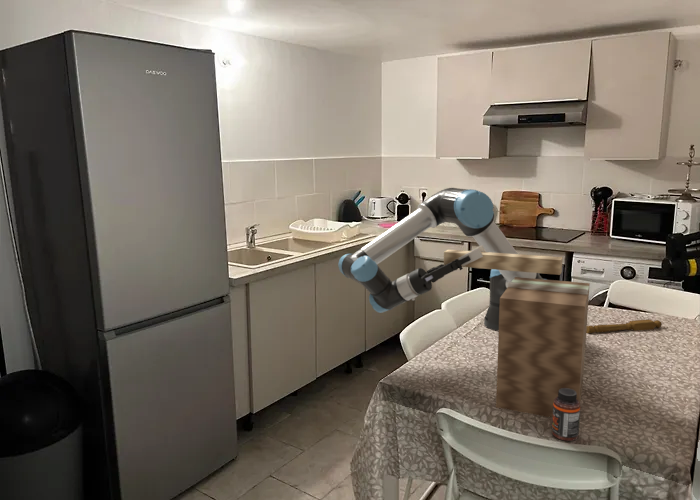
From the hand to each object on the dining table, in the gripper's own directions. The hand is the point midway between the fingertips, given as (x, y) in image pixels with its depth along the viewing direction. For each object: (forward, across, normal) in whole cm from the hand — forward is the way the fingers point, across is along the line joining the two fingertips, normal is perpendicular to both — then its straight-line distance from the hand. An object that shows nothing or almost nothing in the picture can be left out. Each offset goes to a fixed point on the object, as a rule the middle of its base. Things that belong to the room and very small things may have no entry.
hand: (482, 250), depth 157 cm
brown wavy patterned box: (-3, +5, -43) cm, 43 cm away
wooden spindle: (+14, -63, -53) cm, 84 cm away
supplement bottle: (+3, +25, -47) cm, 53 cm away
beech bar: (+2, 0, -7) cm, 7 cm away
